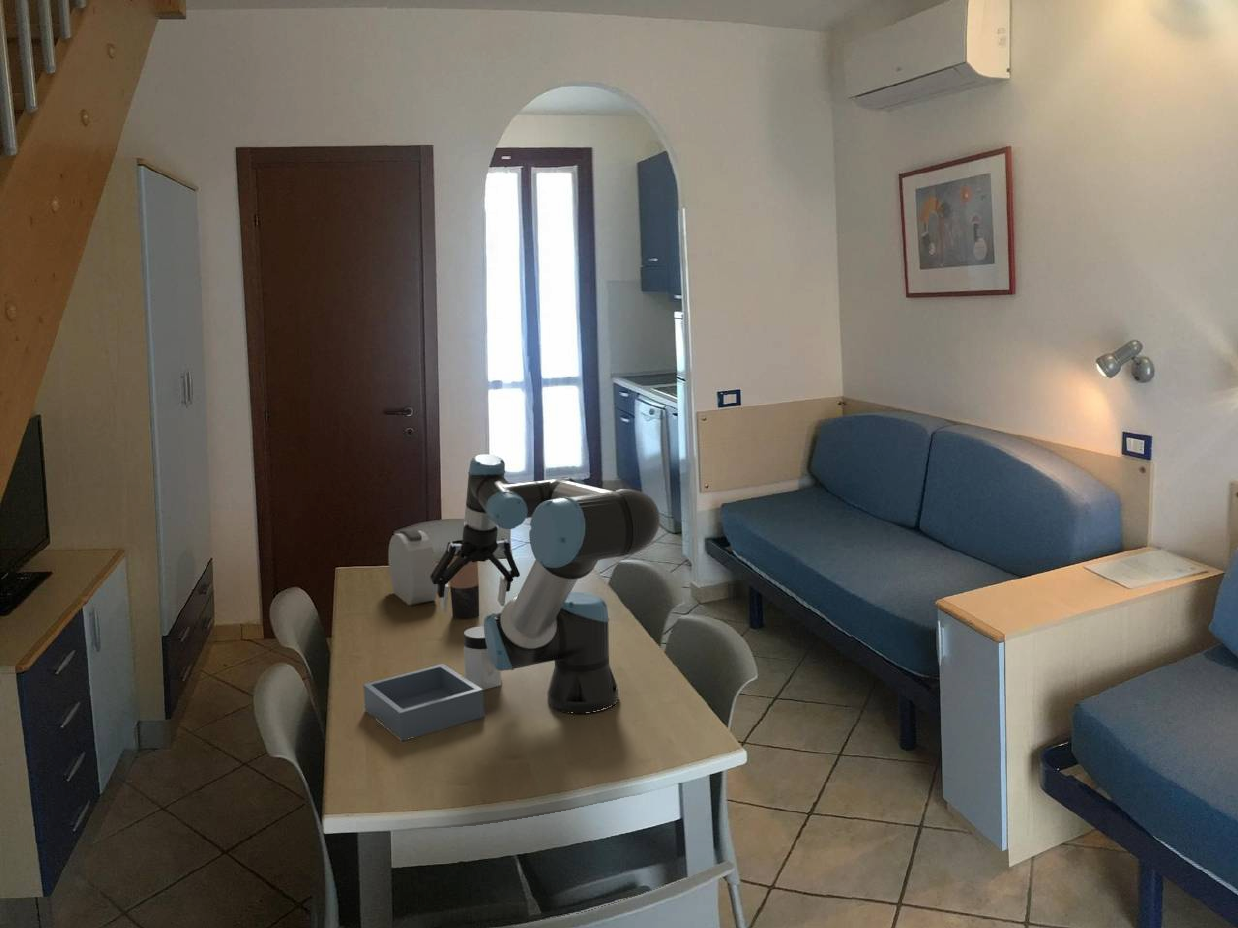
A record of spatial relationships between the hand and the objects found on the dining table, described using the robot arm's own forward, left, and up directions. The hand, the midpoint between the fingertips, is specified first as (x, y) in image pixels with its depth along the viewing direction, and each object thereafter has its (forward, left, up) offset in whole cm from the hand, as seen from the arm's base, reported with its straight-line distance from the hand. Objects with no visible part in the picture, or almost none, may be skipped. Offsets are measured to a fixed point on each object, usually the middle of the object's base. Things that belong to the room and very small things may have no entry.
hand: (472, 605), depth 234 cm
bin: (-13, +19, -16) cm, 29 cm away
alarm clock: (+63, -14, -16) cm, 66 cm away
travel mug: (+39, -18, -16) cm, 45 cm away
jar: (-6, +1, -16) cm, 18 cm away
